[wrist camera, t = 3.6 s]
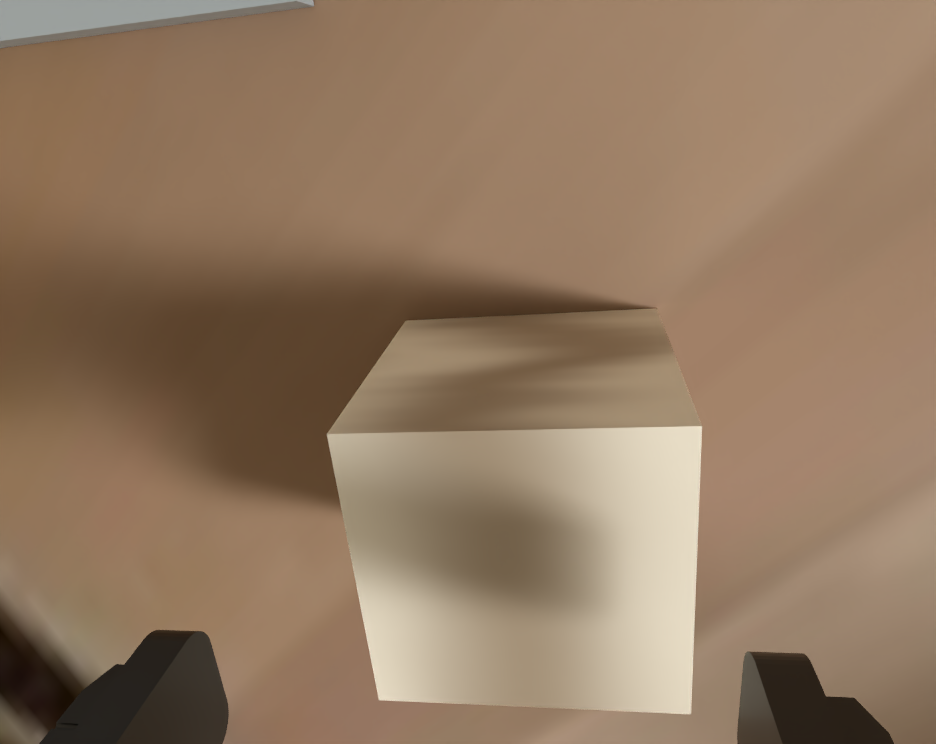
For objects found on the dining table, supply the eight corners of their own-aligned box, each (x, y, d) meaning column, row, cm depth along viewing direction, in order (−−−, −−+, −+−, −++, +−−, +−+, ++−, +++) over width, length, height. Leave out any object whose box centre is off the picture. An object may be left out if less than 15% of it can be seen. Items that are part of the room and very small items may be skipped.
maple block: (656, 307, 16) (702, 426, 10) (654, 523, 18) (690, 714, 13) (406, 319, 17) (326, 433, 11) (434, 522, 19) (378, 700, 14)
